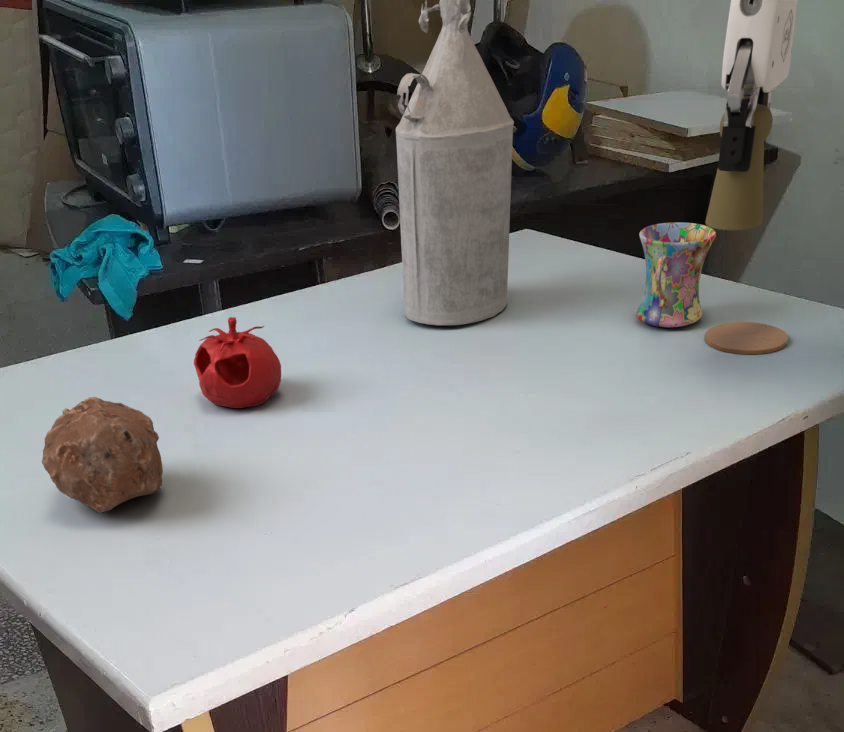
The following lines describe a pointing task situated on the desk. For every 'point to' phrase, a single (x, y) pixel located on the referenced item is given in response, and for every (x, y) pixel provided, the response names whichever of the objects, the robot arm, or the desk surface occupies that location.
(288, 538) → the desk surface
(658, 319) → the mug
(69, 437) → the decorative rock
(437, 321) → the canister
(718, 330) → the coaster
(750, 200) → the pepper shaker
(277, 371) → the hollow red tomato
